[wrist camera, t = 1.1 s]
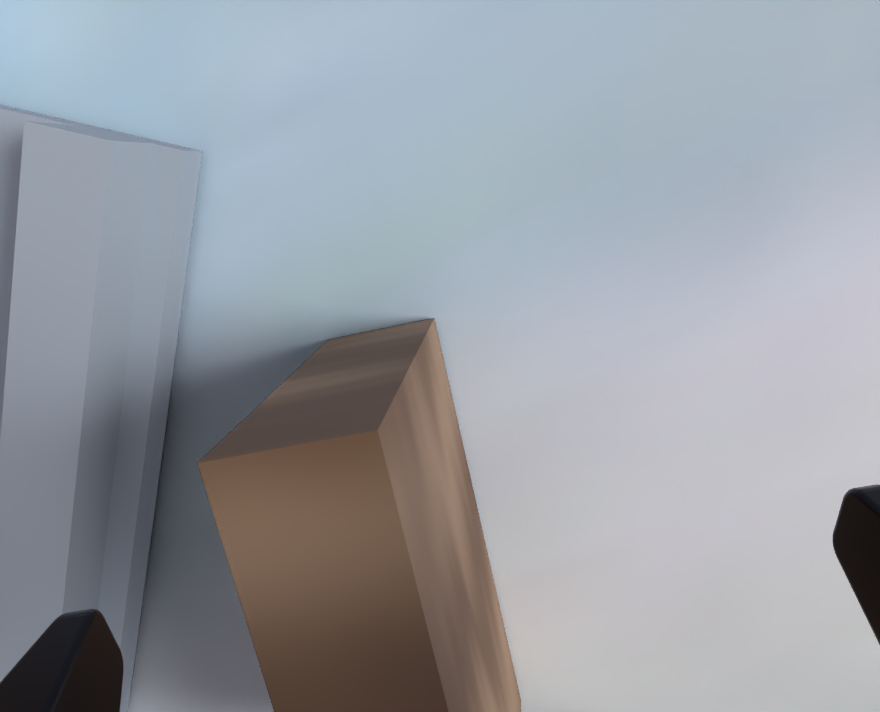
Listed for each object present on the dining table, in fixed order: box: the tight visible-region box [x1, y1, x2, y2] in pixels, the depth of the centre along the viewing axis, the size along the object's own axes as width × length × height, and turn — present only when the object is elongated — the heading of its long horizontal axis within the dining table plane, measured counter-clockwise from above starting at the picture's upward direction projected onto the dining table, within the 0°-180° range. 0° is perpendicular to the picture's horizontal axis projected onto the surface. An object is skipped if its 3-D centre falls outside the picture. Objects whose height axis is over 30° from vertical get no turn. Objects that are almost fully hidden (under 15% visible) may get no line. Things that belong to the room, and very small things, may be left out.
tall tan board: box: [198, 318, 521, 712], centre depth 18 cm, size 12×3×9 cm, turn 13°
